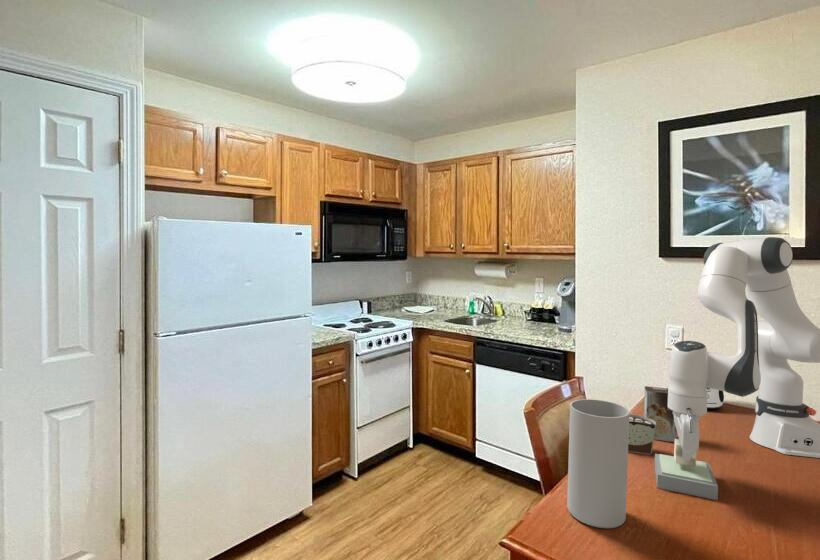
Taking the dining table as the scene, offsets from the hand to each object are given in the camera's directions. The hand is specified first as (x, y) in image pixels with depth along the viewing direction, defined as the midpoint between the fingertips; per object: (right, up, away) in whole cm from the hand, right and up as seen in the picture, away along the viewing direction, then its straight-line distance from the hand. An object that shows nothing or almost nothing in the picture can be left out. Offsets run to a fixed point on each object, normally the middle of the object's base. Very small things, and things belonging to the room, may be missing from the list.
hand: (684, 454), depth 118 cm
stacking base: (0, -7, 0) cm, 7 cm away
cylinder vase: (-30, -8, -15) cm, 35 cm away
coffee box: (+10, -6, +30) cm, 32 cm away
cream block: (0, -2, 0) cm, 2 cm away
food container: (-3, -7, +21) cm, 22 cm away
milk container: (+44, -5, +63) cm, 77 cm away
